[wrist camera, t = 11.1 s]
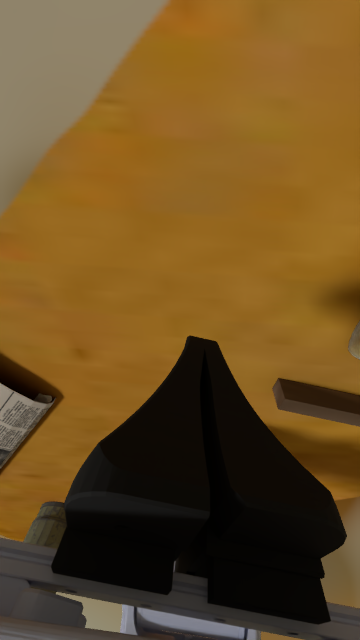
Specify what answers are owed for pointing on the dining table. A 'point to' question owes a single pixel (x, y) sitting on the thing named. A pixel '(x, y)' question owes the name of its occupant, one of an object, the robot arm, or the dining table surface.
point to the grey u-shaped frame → (317, 402)
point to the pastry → (355, 342)
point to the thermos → (48, 527)
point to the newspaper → (18, 419)
